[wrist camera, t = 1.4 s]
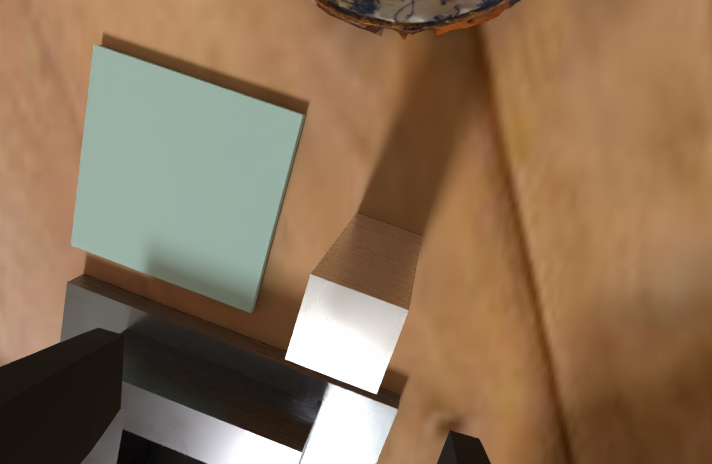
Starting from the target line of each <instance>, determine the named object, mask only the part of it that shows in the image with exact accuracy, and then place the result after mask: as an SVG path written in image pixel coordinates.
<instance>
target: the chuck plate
mask: <svg viewBox="0 0 712 464" xmlns="http://www.w3.org/2000/svg"><path fill="white" fill-rule="evenodd" d="M96 328H102V329H105V330H109V331H112V332H116V333H119V334H123V335H125V338H124V357H123V376H122V395H121V409H120V410H119V412H118V413H117V415H116V416H115V418H114V419H113V421H112V422H111V424H110V425H109V427H108V428H107V430H106V431H105V432H104V434H103V435H102V437H101V438H100V439H99V441H98V442H97V444H96V445H95V446H94V448H93V449H92V451H91V452H90V453H89V454H88V455H87V457H86V458H85V459H84V460H83V461H82V462H81V463H80V464H376V462H377V460H378V457H379V455H380V452H381V450H382V447H383V445H384V443H385V440H386V438H387V435H388V433H389V430H390V428H391V426H392V423H393V421H394V418H395V416H396V413H397V411H398V407H399V400H400V395H397V394H395V393H392V392H389V391H387V390H384V389H382V388H379V389H378V392H377V394H375V393H372V392H369V391H367V390H364V389H362V388H359V387H356V386H354V385H351V384H349V383H346V382H343V381H341V380H338V379H336V378H333V377H330V376H328V375H325V374H323V373H320V372H317V371H315V370H312V369H310V368H307V367H304V366H302V365H299V364H297V363H294V362H291V361H289V360H286V359H285V357H286V354H287V352H285V351H282V350H280V349H277V348H274V347H272V346H269V345H267V344H264V343H261V342H259V341H256V340H253V339H251V338H248V337H246V336H243V335H240V334H238V333H235V332H233V331H230V330H227V329H225V328H222V327H219V326H217V325H214V324H212V323H209V322H206V321H204V320H201V319H199V318H196V317H193V316H191V315H188V314H185V313H183V312H180V311H178V310H175V309H172V308H170V307H167V306H164V305H162V304H159V303H157V302H154V301H151V300H149V299H146V298H144V297H141V296H138V295H136V294H133V293H130V292H128V291H125V290H123V289H120V288H117V287H115V286H112V285H110V284H107V283H104V282H102V281H99V280H96V279H94V278H91V277H89V276H86V275H81V276H79V277H77V278H75V279H73V280H71V281H69V282H67V289H66V297H65V306H64V315H63V323H62V332H61V340H60V342H63V341H65V340H67V339H70V338H72V337H75V336H77V335H80V334H82V333H85V332H88V331H90V330H93V329H96Z"/></svg>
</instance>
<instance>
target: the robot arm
mask: <svg viewBox="0 0 712 464" xmlns="http://www.w3.org/2000/svg"><path fill="white" fill-rule="evenodd" d="M124 338H125V335H123V334H119V333H116V332H112V331H109V330H105V329H102V328H96V329H93V330H90V331H88V332H85V333H82V334H80V335H77V336H75V337H72V338H70V339H67V340H65V341H63V342H60V343H58V344H55V345H53V346H50V347H48V348H46V349H43V350H41V351H38V352H36V353H34V354H31V355H29V356H26V357H24V358H21V359H19V360H16V361H14V362H11V363H9V364H6V365H4V366H1V367H0V464H80V463H81V462H82V461H83V460H84V459H85V458H86V457H87V455H88V454H89V453H90V452H91V451H92V449H93V448H94V446H95V445H96V444H97V442H98V441H99V439H100V438H101V437H102V435H103V434H104V432H105V431H106V430H107V428H108V427H109V425H110V424H111V422H112V421H113V419H114V418H115V416H116V415H117V413H118V412H119V410H120V409H121V395H122V376H123V357H124ZM437 464H491V463H490V461H489V458H488V456H487V454H486V452H485V450H484V447H483V445H482V443H481V442H480V440H479V439H478V438H475V437H471V436H468V435H465V434H461V433H458V432H454V431H451V430H450V431H449V434H448V437H447V439H446V442H445V444H444V447H443V449H442V452H441V455H440V457H439V460H438V462H437Z"/></svg>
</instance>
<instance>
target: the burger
mask: <svg viewBox="0 0 712 464" xmlns="http://www.w3.org/2000/svg"><path fill="white" fill-rule="evenodd" d="M519 1H520V0H312V3H314V4H315V5H317V6H318V7H319V8H321V9H322V10H324V11H325V12H326V13H328V14H329V15H331V16H333V17H335V18H338V19H340V20H342V21H345V22H347V23H349V24H352V25H354V26H356V27H359V28H361V29H365V30H368V31H370V32H373V33H375V34H377V35H380V36H382V32H383V29H384V28H387V29H393V30H395V31H397V32H398V33H399V34H400V35H401V37H402V38H403V39H406V36H407V35H408V34H411V35H413V34H415V33H417V32H421V31H424V30H426V29H429V30H434V31H435V32H436V37H437V35H440V34H443V33H446V32H447V31H451V30H456V29H461V28H468V27H471V26H475V25H477V24H480V23H483V22H486V21H488V20H491V19H493V18H495V17H497V16H498V15H499V14H500V13H501V12H503V11H504V10H505V9H507V8H510V7H512V6H513V5H514V4H515V3H517V2H519Z"/></svg>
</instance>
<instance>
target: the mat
mask: <svg viewBox="0 0 712 464" xmlns="http://www.w3.org/2000/svg"><path fill="white" fill-rule="evenodd" d="M305 116H306V115H305V114H302V113H299V112H296V111H293V110H290V109H287V108H284V107H281V106H278V105H275V104H272V103H269V102H267V101H264V100H261V99H258V98H255V97H252V96H249V95H246V94H243V93H240V92H237V91H234V90H231V89H228V88H225V87H222V86H219V85H216V84H213V83H210V82H207V81H204V80H201V79H198V78H195V77H192V76H190V75H187V74H184V73H181V72H178V71H175V70H172V69H169V68H166V67H163V66H160V65H157V64H154V63H151V62H148V61H145V60H142V59H139V58H136V57H133V56H130V55H127V54H124V53H121V52H118V51H115V50H113V49H110V48H107V47H104V46H101V45H94V46H93V55H92V64H91V73H90V81H89V90H88V99H87V107H86V116H85V125H84V133H83V142H82V151H81V160H80V168H79V177H78V186H77V194H76V203H75V212H74V221H73V229H72V238H71V246H74V247H76V248H79V249H82V250H84V251H87V252H90V253H92V254H95V255H98V256H100V257H103V258H106V259H108V260H111V261H114V262H116V263H119V264H121V265H124V266H127V267H129V268H132V269H135V270H137V271H140V272H143V273H145V274H148V275H151V276H153V277H156V278H159V279H161V280H164V281H166V282H169V283H172V284H174V285H177V286H180V287H182V288H185V289H188V290H190V291H193V292H196V293H198V294H201V295H204V296H206V297H209V298H212V299H214V300H217V301H219V302H222V303H225V304H227V305H230V306H233V307H235V308H238V309H241V310H243V311H246V312H249V313H251V312H252V311H253V310H254V308H255V305H256V301H257V297H258V293H259V289H260V286H261V282H262V278H263V274H264V271H265V267H266V263H267V259H268V256H269V252H270V248H271V244H272V240H273V237H274V233H275V229H276V225H277V222H278V218H279V214H280V210H281V206H282V203H283V199H284V195H285V191H286V188H287V184H288V180H289V176H290V173H291V169H292V165H293V161H294V157H295V154H296V150H297V146H298V142H299V139H300V135H301V131H302V127H303V124H304V120H305Z"/></svg>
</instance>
